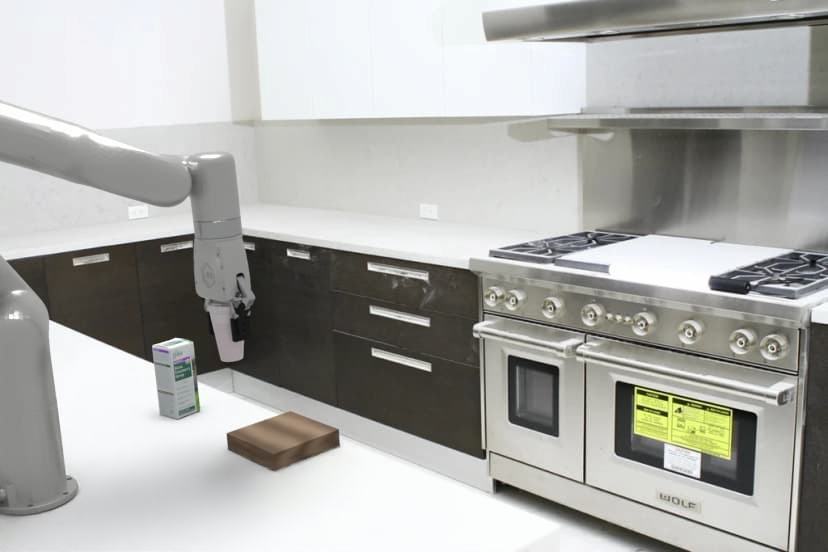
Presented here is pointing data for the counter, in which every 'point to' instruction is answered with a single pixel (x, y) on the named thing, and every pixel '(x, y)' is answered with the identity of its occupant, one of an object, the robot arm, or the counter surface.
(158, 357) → the syrup box
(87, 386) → the counter surface
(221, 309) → the smoothie
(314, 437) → the walnut base
